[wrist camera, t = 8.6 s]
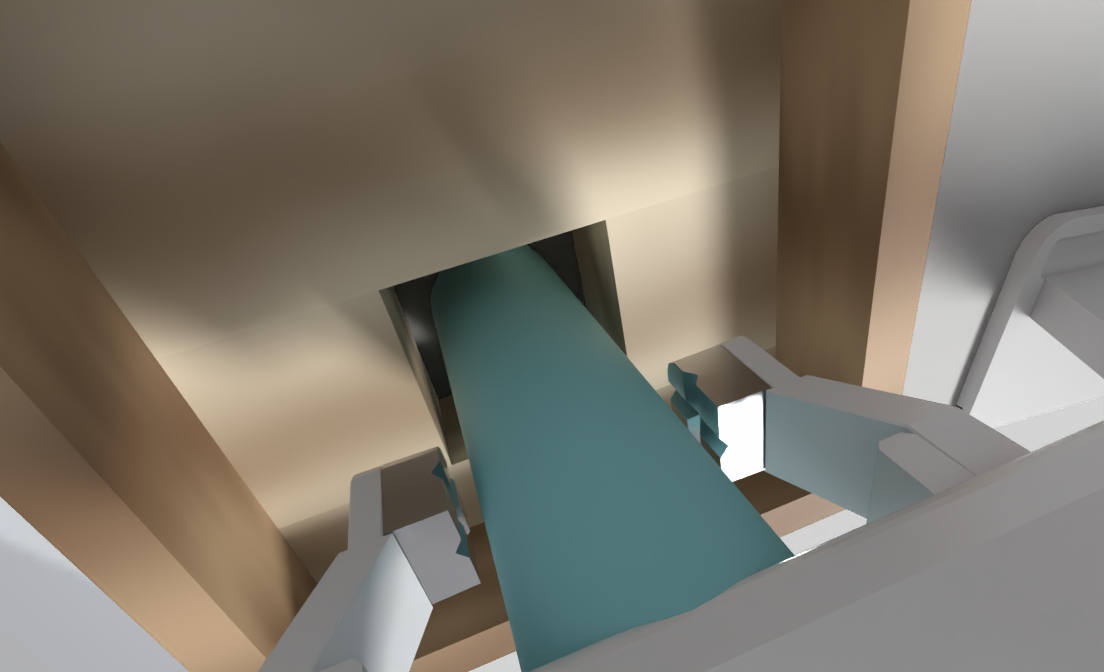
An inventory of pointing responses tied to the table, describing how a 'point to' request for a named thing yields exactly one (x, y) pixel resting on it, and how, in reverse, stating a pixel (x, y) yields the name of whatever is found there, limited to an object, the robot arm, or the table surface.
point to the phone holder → (1044, 325)
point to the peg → (582, 466)
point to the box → (414, 252)
